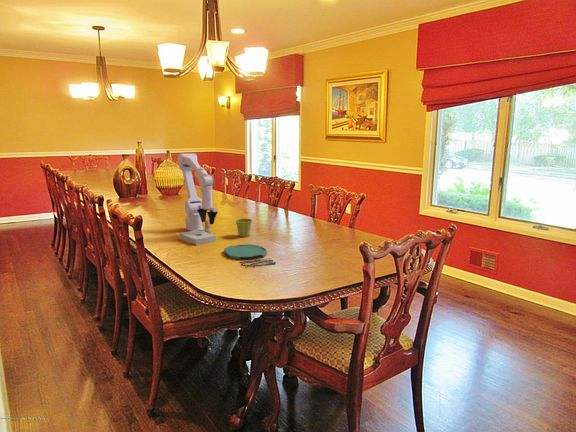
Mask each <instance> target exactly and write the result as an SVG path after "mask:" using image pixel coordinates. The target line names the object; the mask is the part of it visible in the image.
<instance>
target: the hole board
mask: <svg viewBox="0 0 576 432" xmlns="http://www.w3.org/2000/svg"><path fill="white" fill-rule="evenodd" d="M178 237H179V238H178V239H179V240H181V241H183V242H185V243H189V244H192V245H195V246H199V245H200V246H201V245H205V244H208V242H209V243H213V241H214V242H216V241H217V235H216V234H213V233H211V234H210V233H207V232H205V231H204V230H195V231H190V230H189V231H185V232H180V233H178ZM204 243H205V244H204Z"/></svg>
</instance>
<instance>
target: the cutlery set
mask: <svg viewBox="0 0 576 432" xmlns="http://www.w3.org/2000/svg"><path fill="white" fill-rule="evenodd" d="M223 252H224V255H225V256H228V257H230V258H231V259H233V258H234V259H235V260H238V259H251V260H242V261H240V262H239V264H241V265H242V264H244V265H246V264H245V263H253V264H249V266H248V267H252V268H256V267H255V266H257V267H260V266H261V267H263V266H262V265H265V266H270V265H269V264H272V265H276V264H277V263H276V261H274V260H273V259H271V260H270V259H269V260H267V259H268V258H263V259H262V258H261V259H260V258H258V257H261V256H263V257H264V256H265V257H266V256H267V253H268V252H267V249H266V248H264V247H263V246H260V245H257V244H251V243H248V244H238V245H237V244H236V245H230V246H227V247H226V248H223ZM256 258H257V259H256ZM253 259H254V260H253ZM251 261H253V262H251ZM271 261H272V262H271ZM242 262H245V263H242ZM255 263H256V264H255Z"/></svg>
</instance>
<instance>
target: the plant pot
mask: <svg viewBox="0 0 576 432" xmlns="http://www.w3.org/2000/svg"><path fill="white" fill-rule="evenodd" d="M234 221H235V223H236V226H237V234H238V237H242V238H244V237H245V238H246V237H249V236H250V235H251V227H252V222H253V221H254V220H253V219H251V218H238V219H235V220H234Z"/></svg>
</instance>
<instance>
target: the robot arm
mask: <svg viewBox="0 0 576 432" xmlns="http://www.w3.org/2000/svg"><path fill="white" fill-rule="evenodd" d="M176 161H177V164H178V169H179V170H180V171H181V172H182V173H181V174H182V177H183V182H184V184H185V188H186V189H185V190H186V193H187V200H185V201H184V210H185V213H186V216H185V227H184V229H185V230H188V231H189V232H190V231H195V230H200V231H205V227H203V223H205V221H206V220H207V216H208V219H209V223H210V226H211V225H214V224H215V220H216V218H217V217H216V216H217V214H218V211H217V210H218V209H217V207H215V206H213V205H214V204H213V186H214V185H215V178H214V177H213V175H210V174H209V173H208V172H207V171H206V170H205V168H204V167H201V165H200V164H199V162H198V155H197V154H196V153H195V152H193V153H191V152H190V153H182V152H181V153H179V154H178V155H177V160H176ZM192 170H194V175H195V177H196V178H197V179H198V184H199V187H200V192H201V198H200V197H199V196H198V195H197V190H196V186H195V182H194V177H193V173H192Z"/></svg>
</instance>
